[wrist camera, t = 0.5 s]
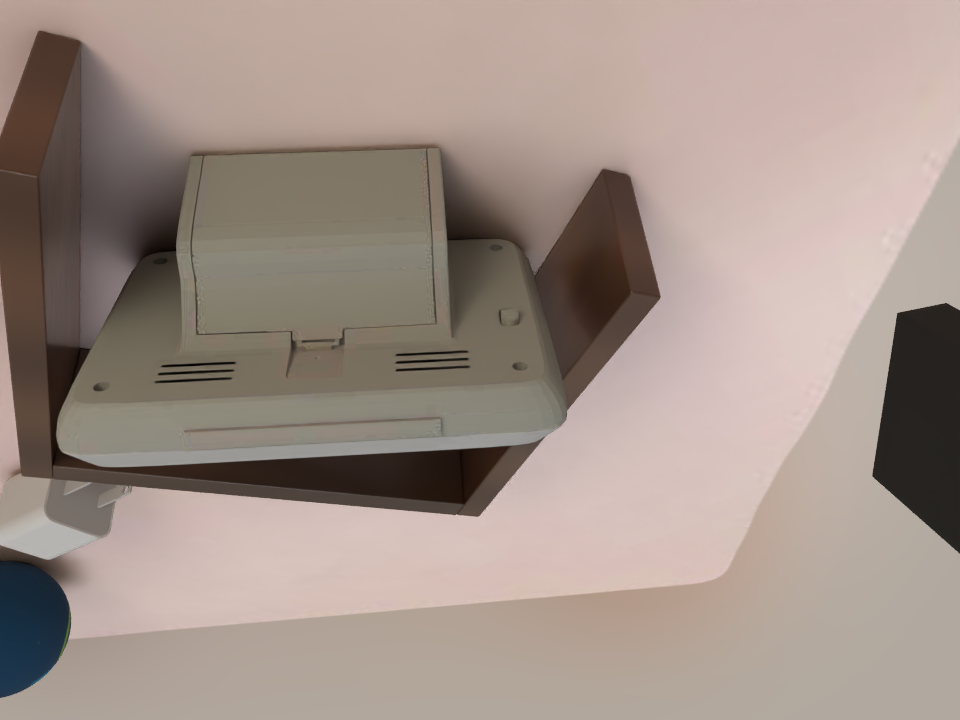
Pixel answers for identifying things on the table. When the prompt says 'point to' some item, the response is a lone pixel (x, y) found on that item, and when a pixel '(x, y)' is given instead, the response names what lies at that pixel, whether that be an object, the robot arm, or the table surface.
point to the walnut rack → (331, 479)
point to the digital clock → (316, 324)
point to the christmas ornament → (30, 625)
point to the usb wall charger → (55, 514)
